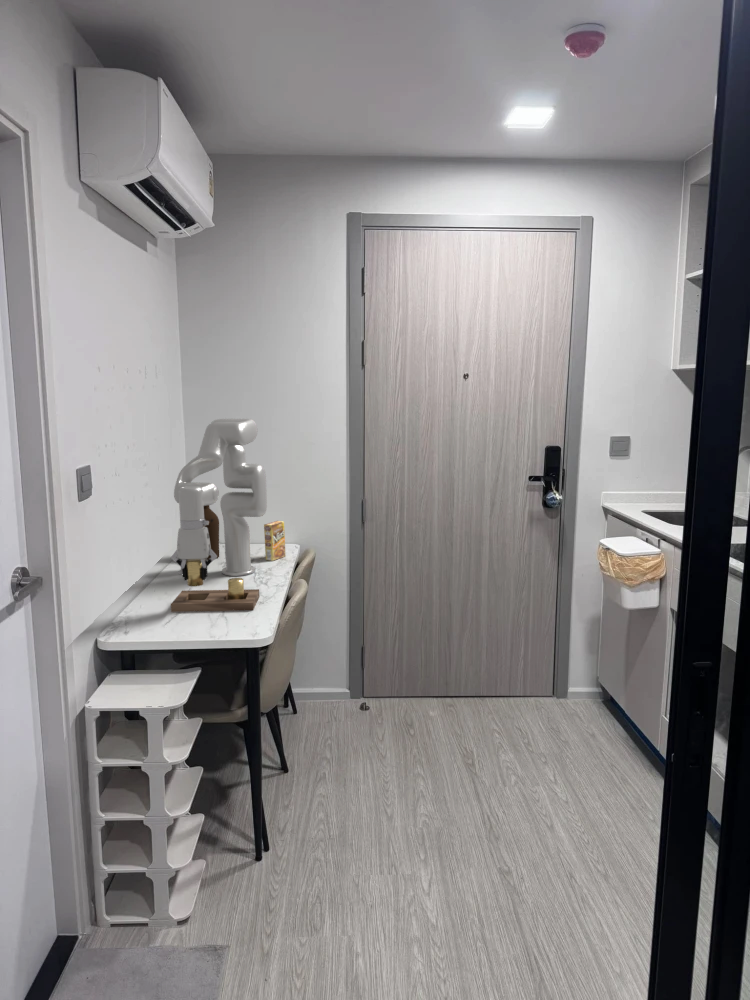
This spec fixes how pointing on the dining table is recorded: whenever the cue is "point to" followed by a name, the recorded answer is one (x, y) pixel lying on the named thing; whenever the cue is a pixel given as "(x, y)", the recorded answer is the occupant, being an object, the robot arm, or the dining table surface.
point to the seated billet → (236, 588)
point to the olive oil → (212, 529)
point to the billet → (194, 572)
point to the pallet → (213, 601)
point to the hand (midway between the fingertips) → (195, 578)
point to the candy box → (274, 540)
